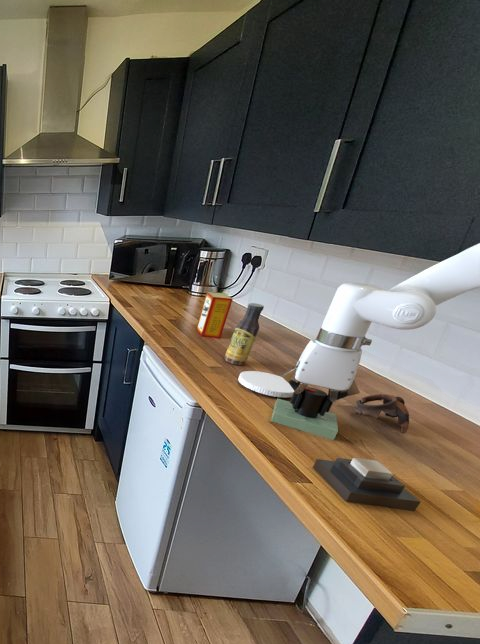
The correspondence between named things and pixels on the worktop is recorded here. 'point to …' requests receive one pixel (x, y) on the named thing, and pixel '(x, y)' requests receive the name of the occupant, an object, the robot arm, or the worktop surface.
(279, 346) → the worktop surface
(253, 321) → the sauce bottle
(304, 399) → the dial
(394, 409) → the brown looped piece
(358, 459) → the key
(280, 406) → the volume panel
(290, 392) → the plastic lid
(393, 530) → the worktop surface
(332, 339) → the robot arm
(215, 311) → the baking soda box
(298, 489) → the worktop surface
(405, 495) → the tiered square pedestal
